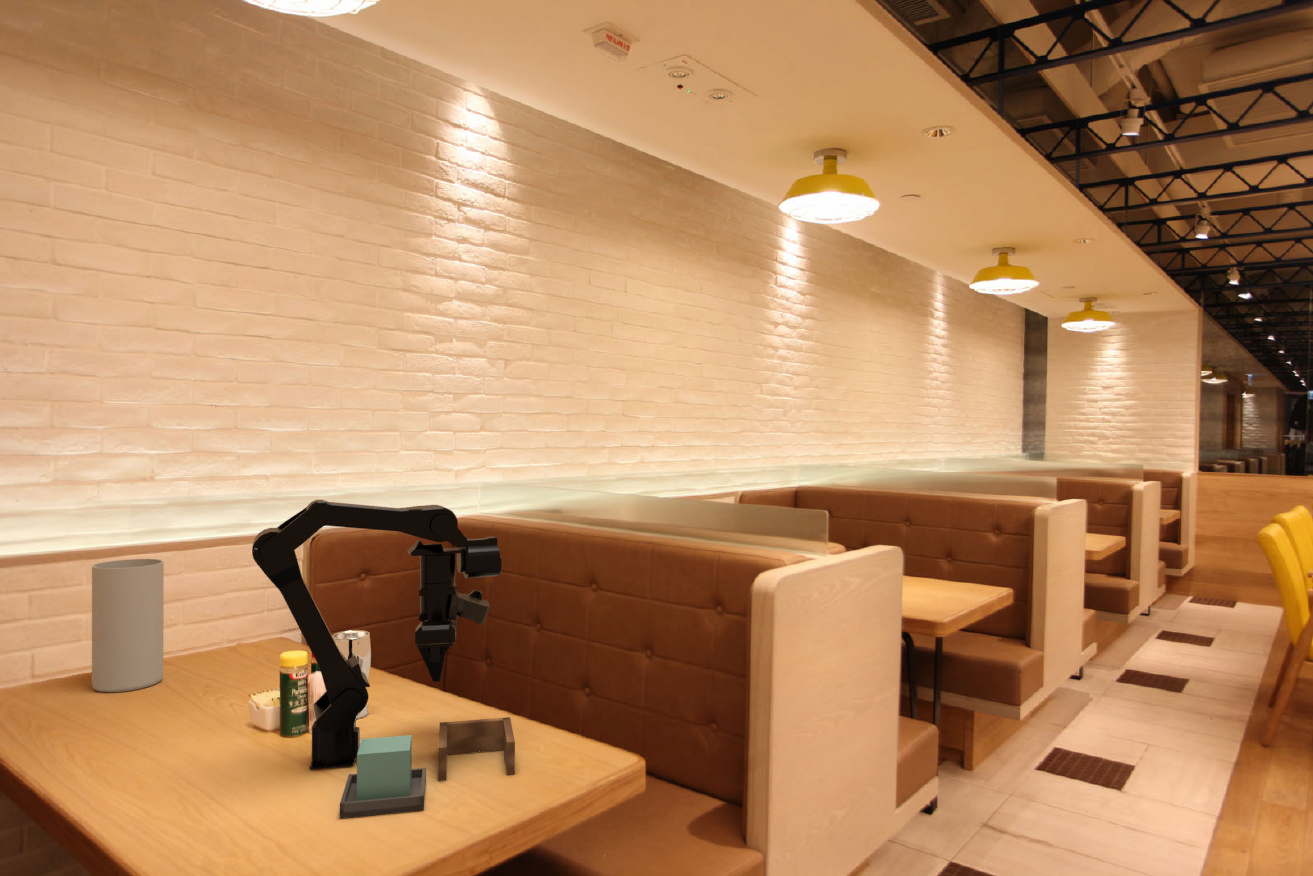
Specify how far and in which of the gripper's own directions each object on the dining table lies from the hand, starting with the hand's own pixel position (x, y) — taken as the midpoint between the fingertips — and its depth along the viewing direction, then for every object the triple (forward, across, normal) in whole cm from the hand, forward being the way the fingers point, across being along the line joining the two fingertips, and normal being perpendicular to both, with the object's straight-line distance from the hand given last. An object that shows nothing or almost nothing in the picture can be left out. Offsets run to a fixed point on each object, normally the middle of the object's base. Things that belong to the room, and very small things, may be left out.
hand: (437, 673), depth 139 cm
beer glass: (+12, +18, +16) cm, 27 cm away
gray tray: (+12, -20, +7) cm, 24 cm away
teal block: (+11, -20, +7) cm, 23 cm away
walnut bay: (+12, -9, -6) cm, 16 cm away
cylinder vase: (+12, +47, +64) cm, 80 cm away
